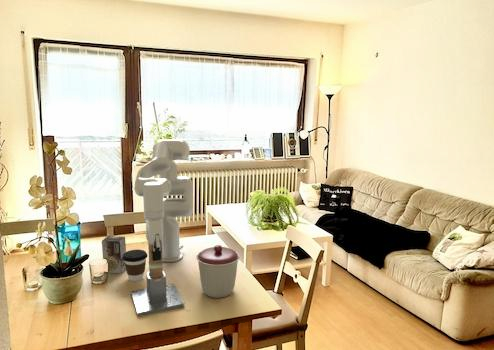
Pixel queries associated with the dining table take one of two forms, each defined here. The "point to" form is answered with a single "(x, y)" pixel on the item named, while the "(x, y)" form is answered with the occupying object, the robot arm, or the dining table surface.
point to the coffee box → (114, 253)
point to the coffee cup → (135, 264)
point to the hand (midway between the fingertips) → (155, 257)
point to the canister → (218, 270)
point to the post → (155, 263)
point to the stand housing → (156, 296)
